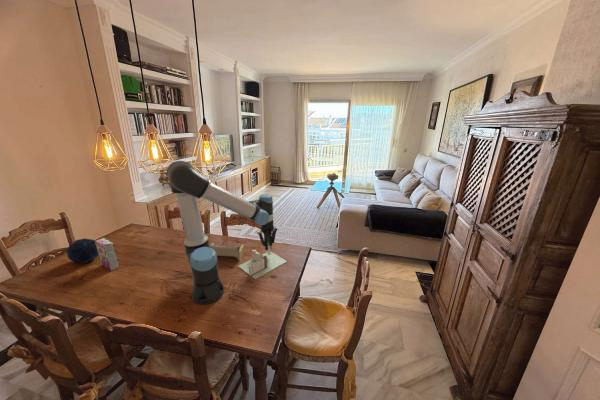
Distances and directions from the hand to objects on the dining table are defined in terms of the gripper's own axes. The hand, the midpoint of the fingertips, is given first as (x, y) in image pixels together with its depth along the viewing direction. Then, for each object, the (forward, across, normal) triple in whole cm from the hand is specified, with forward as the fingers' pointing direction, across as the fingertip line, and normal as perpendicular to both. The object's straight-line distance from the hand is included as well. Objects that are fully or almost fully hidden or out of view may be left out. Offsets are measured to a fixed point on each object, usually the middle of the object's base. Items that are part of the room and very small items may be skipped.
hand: (268, 253), depth 149 cm
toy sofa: (+3, +21, -17) cm, 27 cm away
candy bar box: (+2, +81, -44) cm, 92 cm away
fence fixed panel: (+2, +12, +9) cm, 15 cm away
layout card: (+3, +6, +4) cm, 8 cm away
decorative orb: (+2, +93, -60) cm, 110 cm away
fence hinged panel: (+2, +8, +1) cm, 8 cm away
